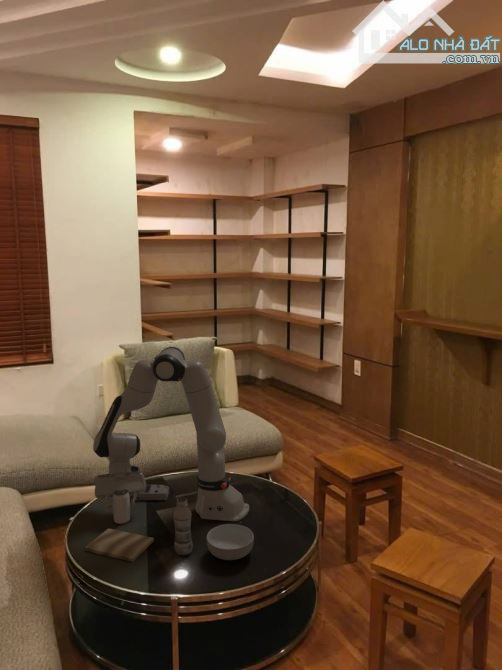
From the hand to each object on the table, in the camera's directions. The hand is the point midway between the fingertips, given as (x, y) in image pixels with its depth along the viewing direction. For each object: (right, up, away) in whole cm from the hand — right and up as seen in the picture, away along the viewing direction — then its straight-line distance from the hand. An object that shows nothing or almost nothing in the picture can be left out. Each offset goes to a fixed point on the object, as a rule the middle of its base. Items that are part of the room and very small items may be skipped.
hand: (121, 505), depth 208 cm
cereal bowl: (+44, -10, -22) cm, 50 cm away
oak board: (+4, -9, -17) cm, 19 cm away
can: (0, -6, +2) cm, 7 cm away
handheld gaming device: (+8, -3, +22) cm, 24 cm away
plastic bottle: (+27, -10, -21) cm, 36 cm away
